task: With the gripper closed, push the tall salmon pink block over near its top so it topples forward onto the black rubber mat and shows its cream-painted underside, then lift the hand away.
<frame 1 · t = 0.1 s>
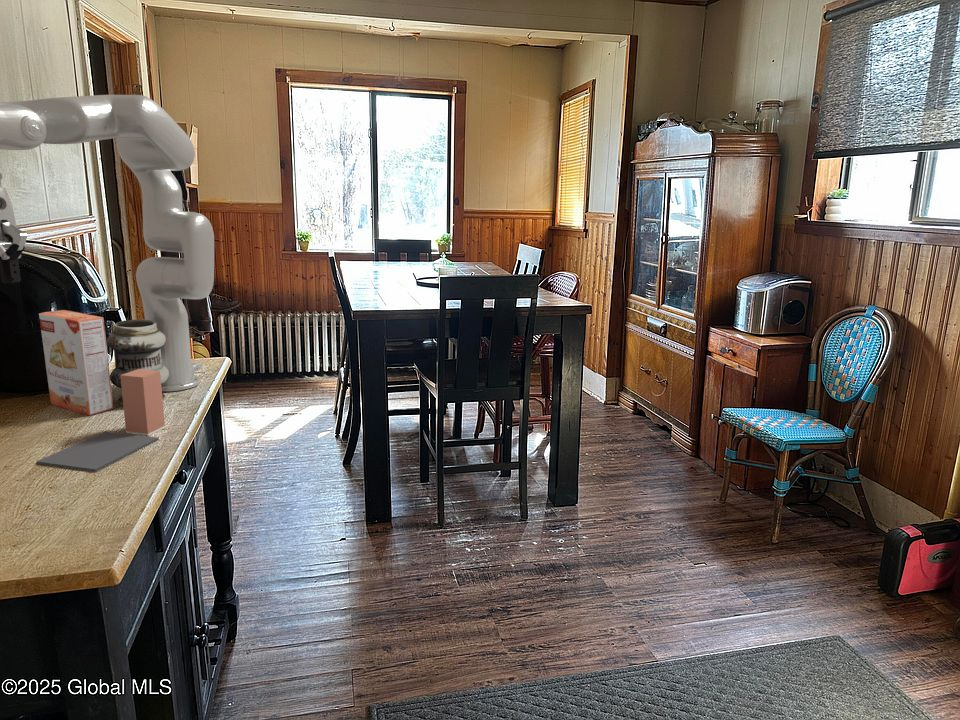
salmon pink block: (145, 430, 133), on the table
cracker box: (81, 408, 145), on the table
apothecary jar: (142, 399, 152), on the table
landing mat: (100, 451, 122), on the table
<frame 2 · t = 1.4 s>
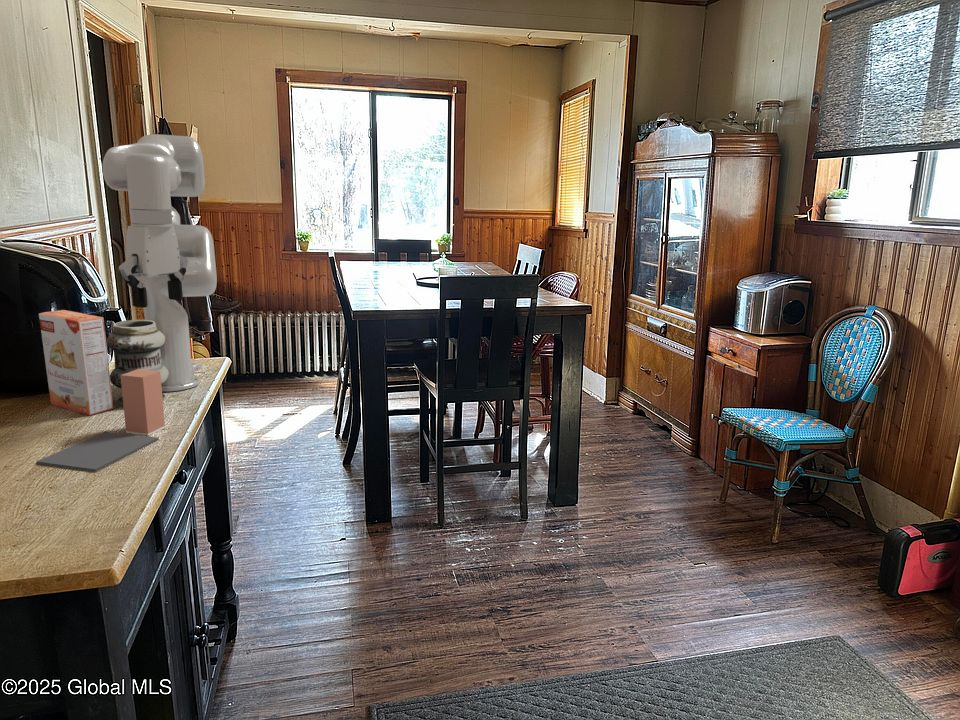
hand: (158, 303, 136), 25 cm above the table, tool pointing down, fingers open, 9 cm apart
nothing on the table moved.
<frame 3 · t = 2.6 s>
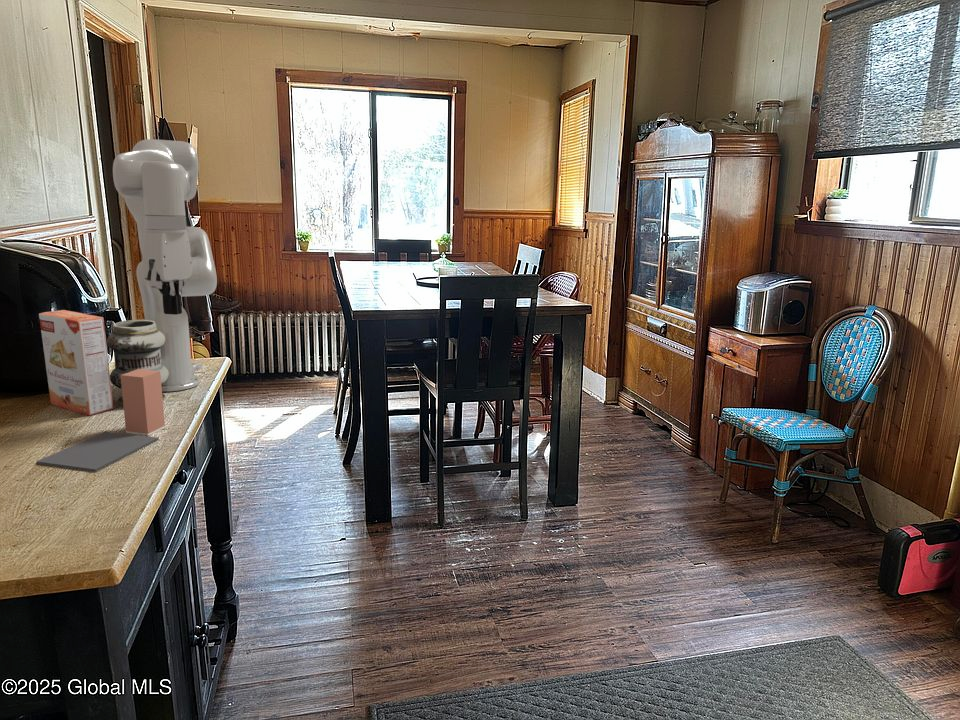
hand: (173, 313, 138), 22 cm above the table, tool pointing down, fingers closed
nothing on the table moved.
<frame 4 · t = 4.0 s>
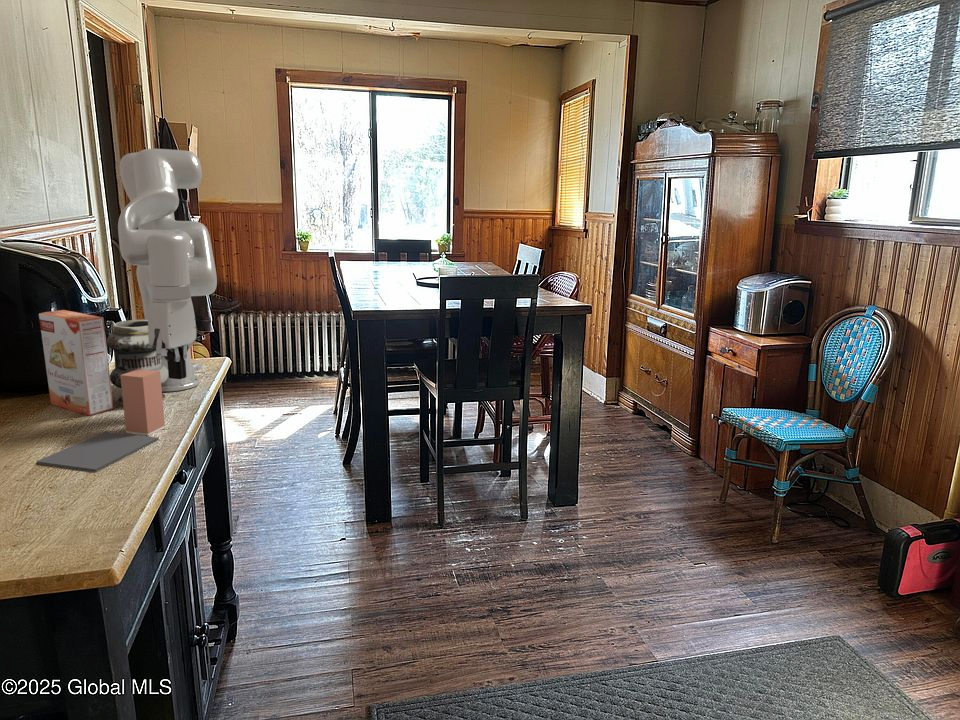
hand: (177, 377, 142), 8 cm above the table, tool pointing down, fingers closed
nothing on the table moved.
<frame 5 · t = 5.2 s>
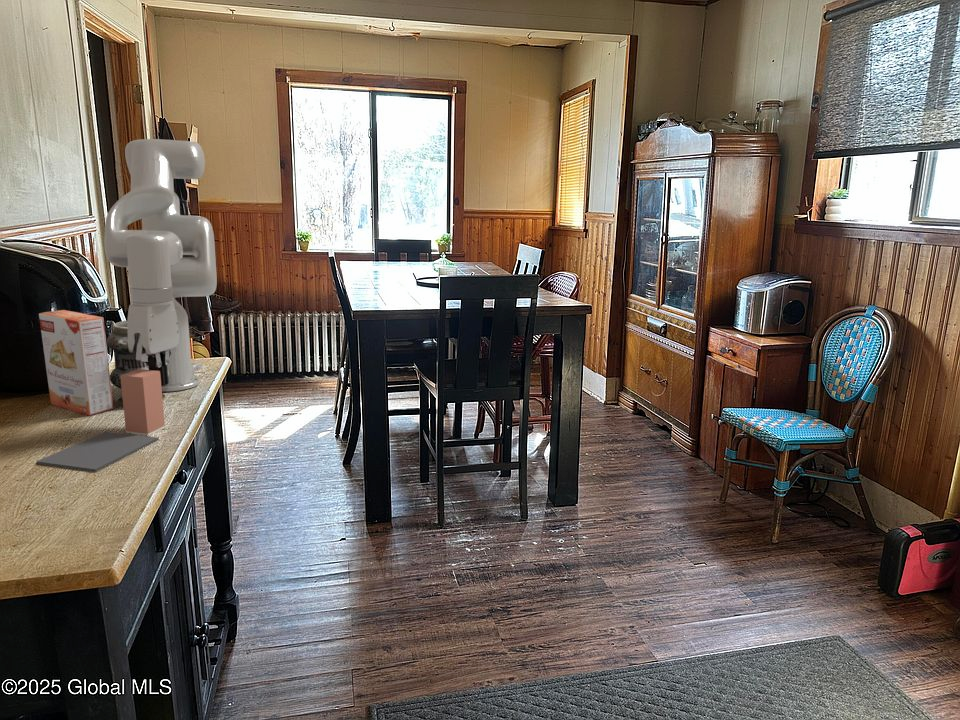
hand: (159, 384, 136), 8 cm above the table, tool pointing down, fingers closed
salmon pink block: (145, 430, 133), on the table, touching gripper
everything else where it was.
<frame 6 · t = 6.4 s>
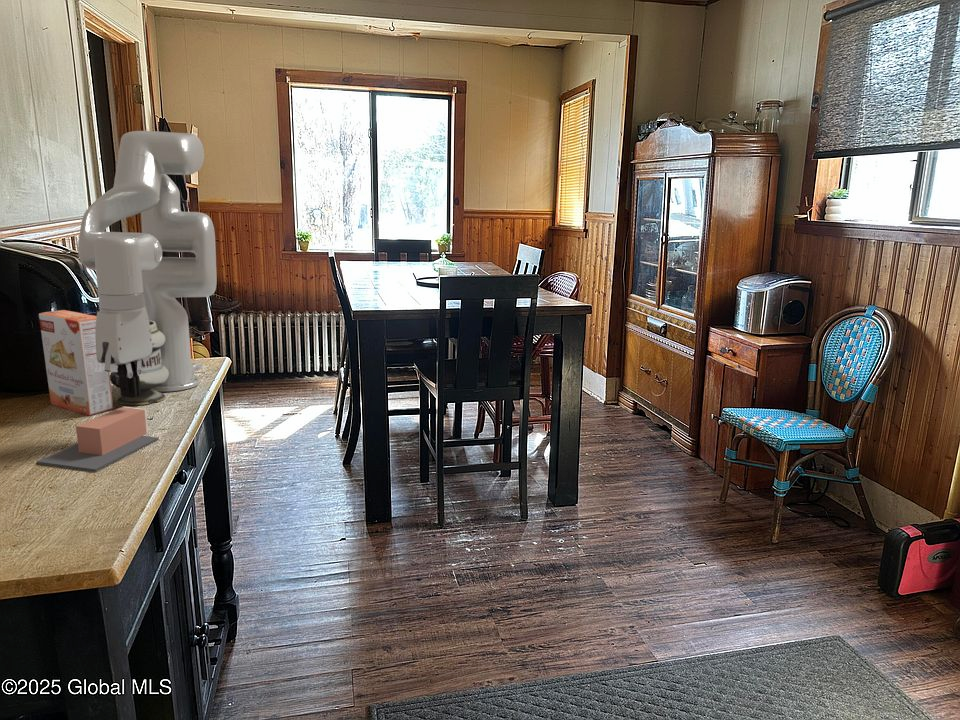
hand: (131, 395, 128), 8 cm above the table, tool pointing down, fingers closed
salmon pink block: (136, 419, 130), point 3 cm above the table, tilted 90°, touching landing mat
everything else where it was.
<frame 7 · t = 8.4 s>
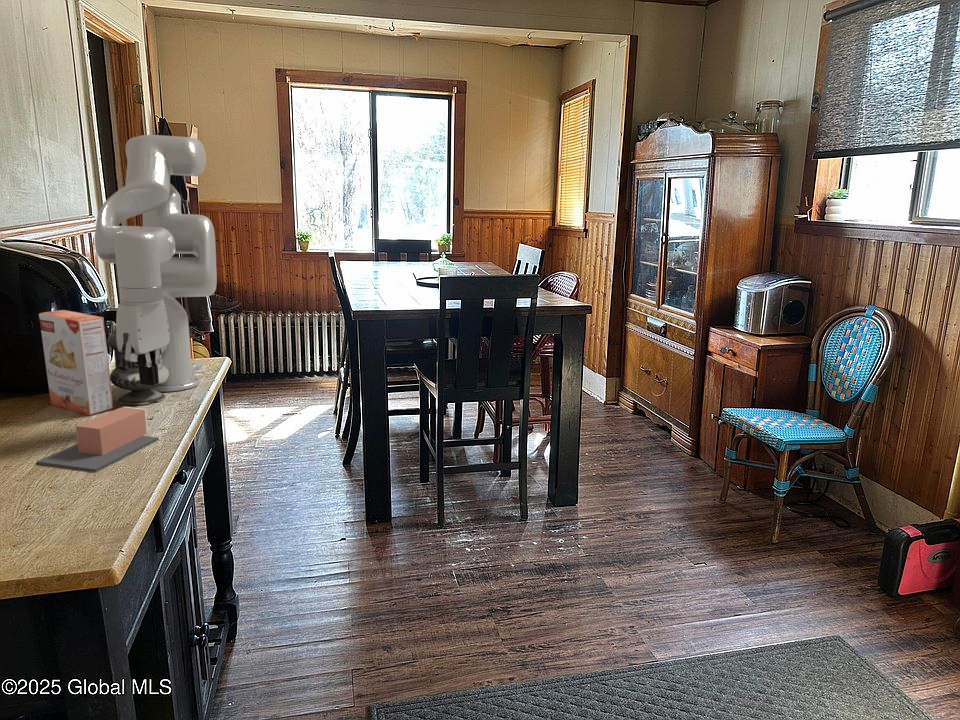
hand: (149, 383, 134), 9 cm above the table, tool pointing down, fingers closed
nothing on the table moved.
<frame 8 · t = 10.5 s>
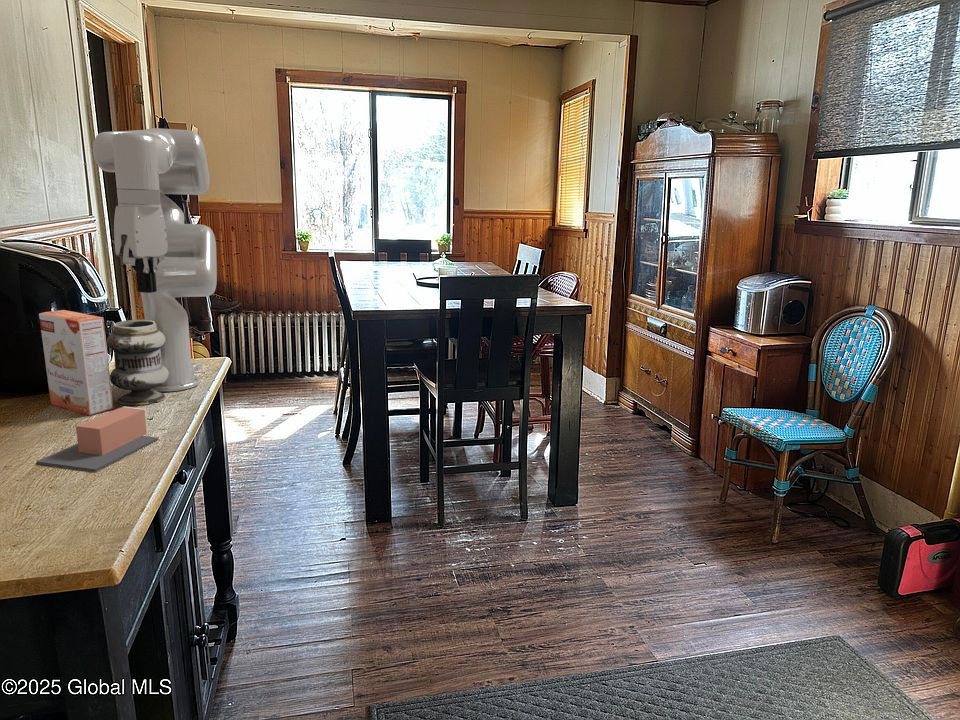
hand: (147, 291, 134), 27 cm above the table, tool pointing down, fingers closed
nothing on the table moved.
at the end: salmon pink block tilted 90°; salmon pink block touching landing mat; salmon pink block inside the target area (3.6 cm from its centre), point 3.0 cm above the table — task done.
